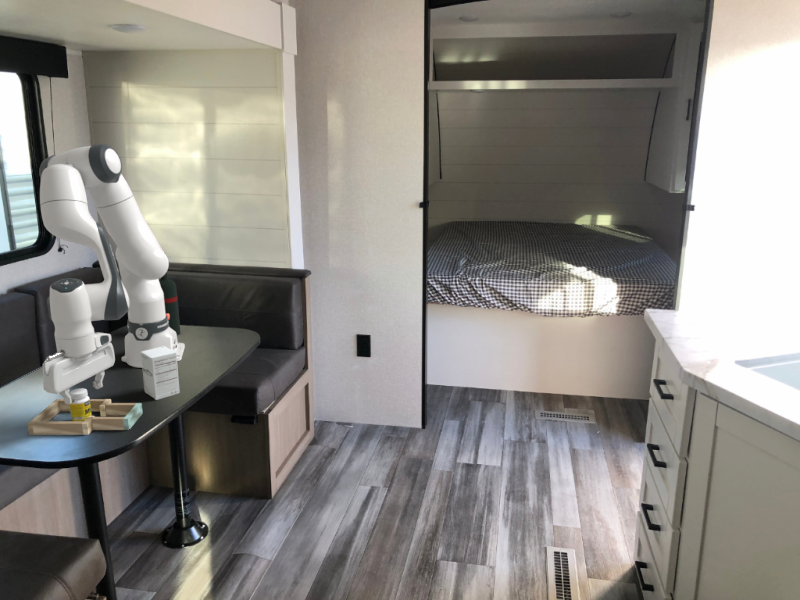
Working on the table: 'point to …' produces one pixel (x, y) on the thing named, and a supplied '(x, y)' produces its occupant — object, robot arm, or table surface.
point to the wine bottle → (170, 302)
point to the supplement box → (160, 372)
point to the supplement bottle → (80, 405)
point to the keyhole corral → (106, 408)
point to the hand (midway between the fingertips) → (84, 395)
